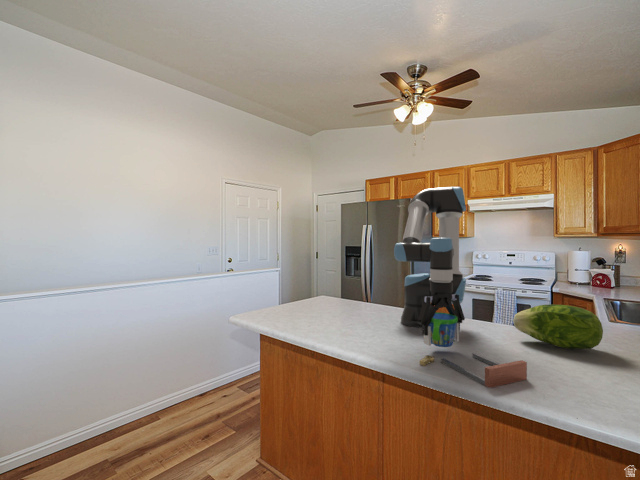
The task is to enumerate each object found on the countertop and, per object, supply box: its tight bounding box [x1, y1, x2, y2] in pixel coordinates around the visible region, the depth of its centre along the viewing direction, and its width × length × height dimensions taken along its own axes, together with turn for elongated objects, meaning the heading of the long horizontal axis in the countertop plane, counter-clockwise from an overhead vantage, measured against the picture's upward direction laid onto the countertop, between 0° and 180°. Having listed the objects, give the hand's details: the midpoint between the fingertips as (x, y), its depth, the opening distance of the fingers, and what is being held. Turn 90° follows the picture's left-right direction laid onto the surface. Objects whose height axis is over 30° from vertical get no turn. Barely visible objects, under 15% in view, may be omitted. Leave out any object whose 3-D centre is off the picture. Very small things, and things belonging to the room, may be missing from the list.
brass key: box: [419, 354, 435, 367], centre depth 102 cm, size 7×3×1 cm, turn 135°
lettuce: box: [512, 304, 604, 350], centre depth 117 cm, size 15×27×16 cm, turn 53°
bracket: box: [440, 352, 528, 389], centre depth 96 cm, size 14×18×5 cm
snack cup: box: [429, 311, 458, 348], centre depth 112 cm, size 16×10×10 cm
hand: (441, 342), depth 112 cm, fingers closed on snack cup, 11 cm apart
